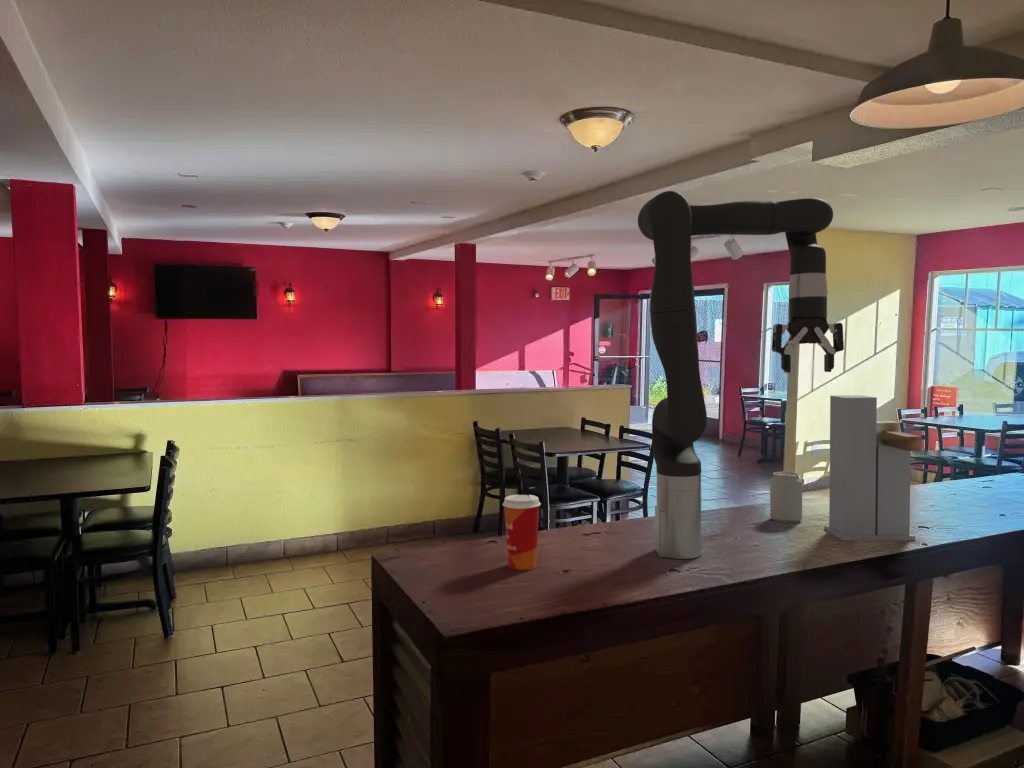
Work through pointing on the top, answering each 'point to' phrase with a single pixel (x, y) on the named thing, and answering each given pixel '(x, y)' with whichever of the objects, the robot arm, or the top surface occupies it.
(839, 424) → the stand
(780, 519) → the can
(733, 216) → the robot arm
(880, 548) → the top surface
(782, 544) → the top surface
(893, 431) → the peg
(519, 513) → the paper cup
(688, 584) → the top surface
